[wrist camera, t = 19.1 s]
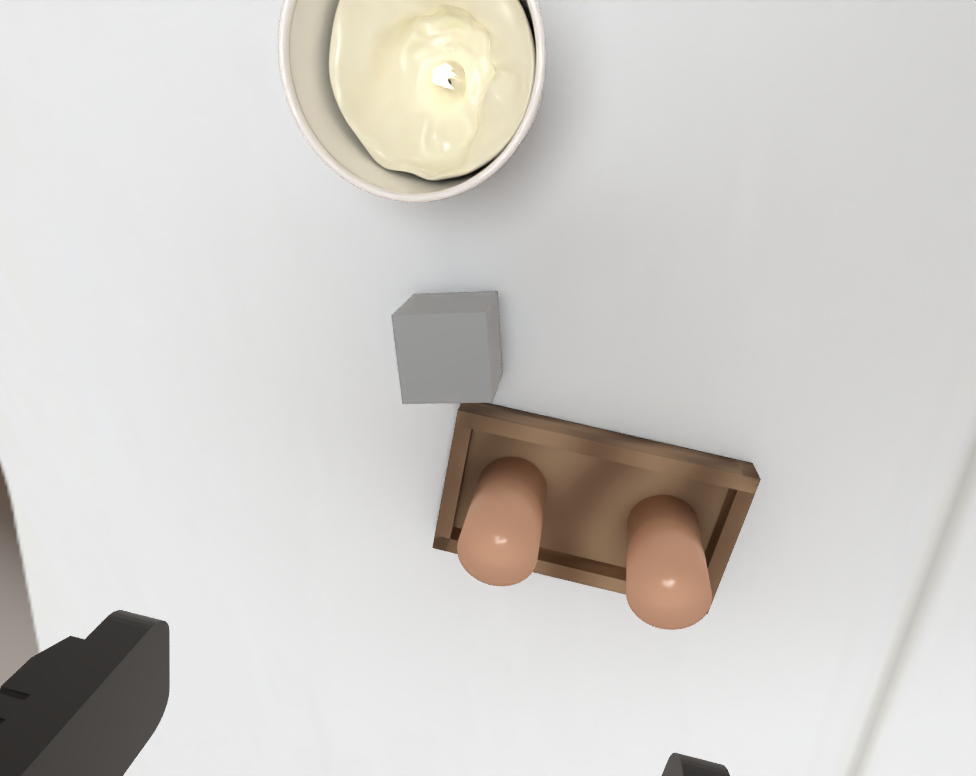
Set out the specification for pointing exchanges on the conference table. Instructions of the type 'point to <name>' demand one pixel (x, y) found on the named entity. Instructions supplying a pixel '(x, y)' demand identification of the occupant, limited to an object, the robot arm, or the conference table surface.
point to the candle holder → (413, 88)
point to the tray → (594, 490)
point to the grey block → (448, 347)
